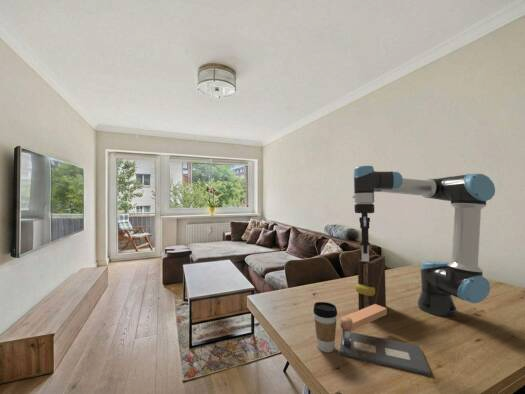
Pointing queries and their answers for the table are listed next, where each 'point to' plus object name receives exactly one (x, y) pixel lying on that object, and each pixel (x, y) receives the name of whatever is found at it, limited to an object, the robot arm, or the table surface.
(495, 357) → the table surface
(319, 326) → the coffee cup
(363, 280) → the book
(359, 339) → the plate
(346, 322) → the cable arm
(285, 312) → the table surface
